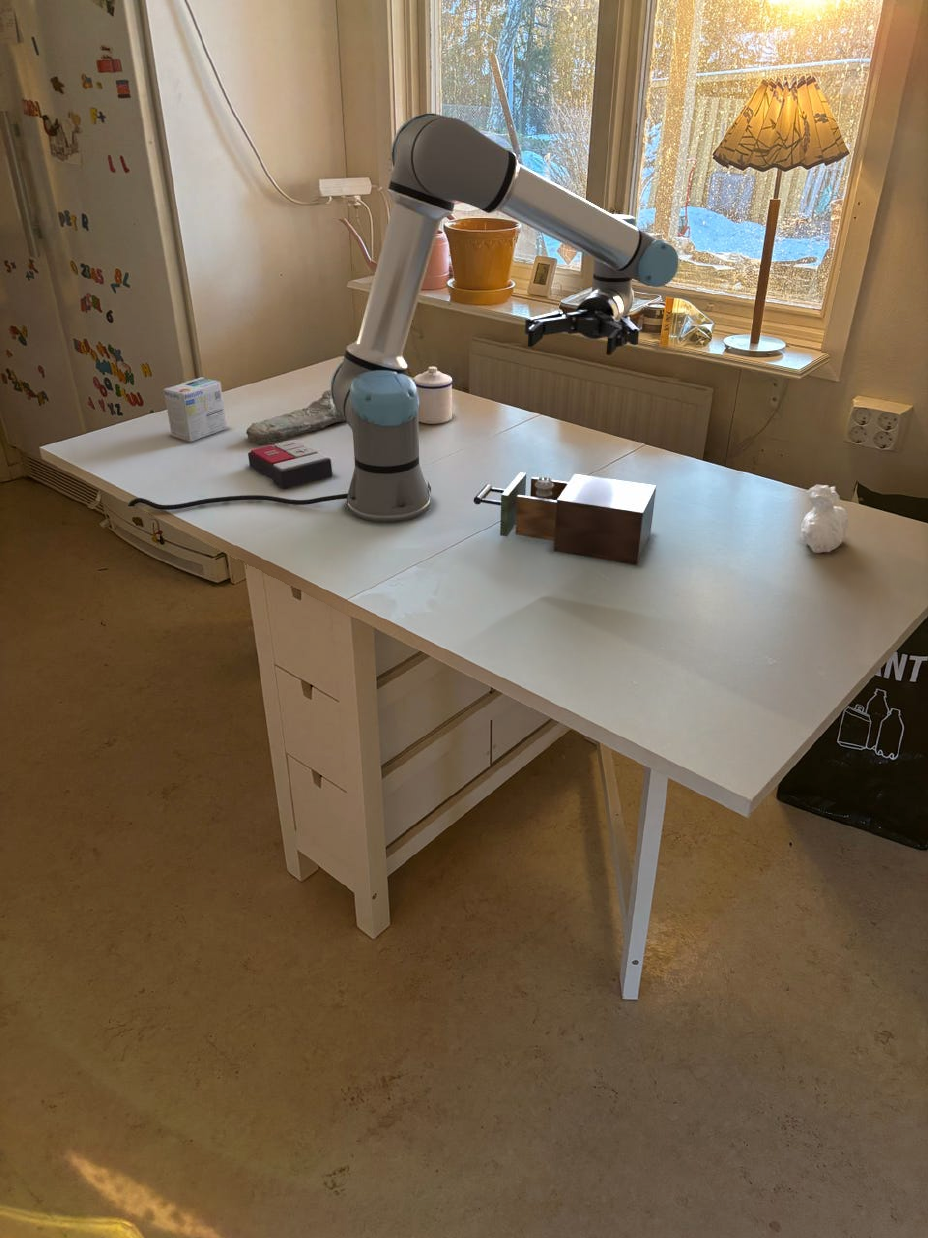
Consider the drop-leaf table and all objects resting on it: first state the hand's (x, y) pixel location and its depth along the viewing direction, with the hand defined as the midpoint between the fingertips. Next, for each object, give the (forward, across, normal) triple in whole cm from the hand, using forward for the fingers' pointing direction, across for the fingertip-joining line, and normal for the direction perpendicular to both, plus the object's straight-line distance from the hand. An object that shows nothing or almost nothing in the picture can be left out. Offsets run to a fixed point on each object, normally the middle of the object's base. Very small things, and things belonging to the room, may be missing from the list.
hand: (569, 342), depth 151 cm
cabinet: (+12, -11, -30) cm, 34 cm away
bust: (-1, -46, -30) cm, 55 cm away
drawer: (+12, +2, -29) cm, 31 cm away
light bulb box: (-9, +84, -30) cm, 90 cm away
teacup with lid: (-37, +42, -30) cm, 63 cm away
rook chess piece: (+12, 0, -28) cm, 31 cm away
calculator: (+3, +55, -30) cm, 63 cm away
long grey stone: (-23, +64, -30) cm, 74 cm away
